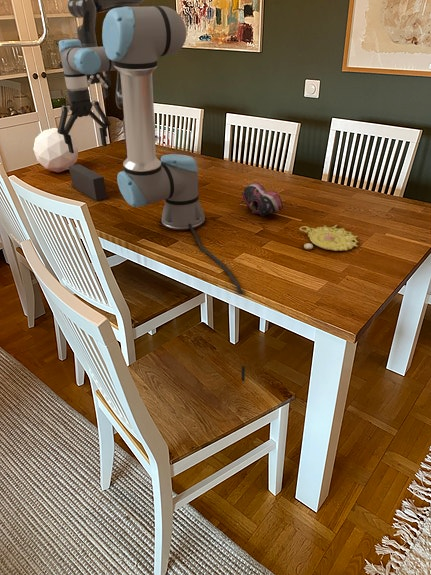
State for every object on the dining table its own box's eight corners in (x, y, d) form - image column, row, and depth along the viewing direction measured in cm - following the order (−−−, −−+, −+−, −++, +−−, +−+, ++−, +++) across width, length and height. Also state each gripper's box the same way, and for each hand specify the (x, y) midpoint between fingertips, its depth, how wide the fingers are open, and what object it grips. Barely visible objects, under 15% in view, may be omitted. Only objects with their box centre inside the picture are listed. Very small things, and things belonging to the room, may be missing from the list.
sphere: (65, 187, 210) (49, 161, 191) (35, 167, 214) (16, 139, 196) (92, 159, 215) (78, 132, 196) (62, 140, 219) (46, 111, 200)
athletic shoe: (254, 181, 170) (227, 189, 167) (283, 176, 151) (253, 185, 147) (260, 210, 173) (234, 218, 170) (290, 209, 154) (261, 219, 150)
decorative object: (343, 255, 128) (285, 234, 139) (342, 262, 130) (284, 241, 140) (372, 230, 142) (317, 213, 152) (371, 237, 143) (316, 219, 153)
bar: (107, 198, 178) (103, 176, 173) (96, 201, 175) (92, 179, 171) (82, 183, 193) (78, 163, 188) (72, 186, 191) (68, 166, 186)
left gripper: (101, 53, 182) (108, 96, 191) (69, 56, 175) (77, 100, 184) (110, 54, 177) (116, 98, 186) (76, 58, 170) (84, 102, 179)
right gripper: (104, 83, 167) (112, 141, 178) (39, 92, 154) (53, 153, 165) (114, 86, 162) (122, 144, 173) (47, 94, 149) (61, 157, 160)
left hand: (96, 99), depth 185 cm, fingers open, 8 cm apart
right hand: (88, 149), depth 169 cm, fingers open, 13 cm apart
